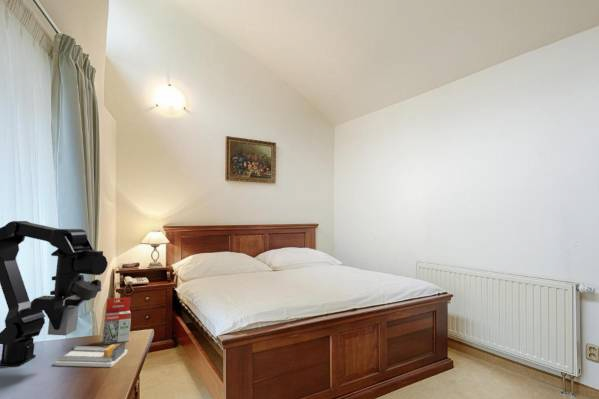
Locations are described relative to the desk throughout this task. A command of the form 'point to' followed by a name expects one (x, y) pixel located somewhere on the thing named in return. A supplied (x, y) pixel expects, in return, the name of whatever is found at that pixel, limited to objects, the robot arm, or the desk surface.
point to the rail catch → (109, 350)
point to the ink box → (117, 321)
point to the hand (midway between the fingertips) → (62, 326)
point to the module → (66, 322)
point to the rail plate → (91, 356)
